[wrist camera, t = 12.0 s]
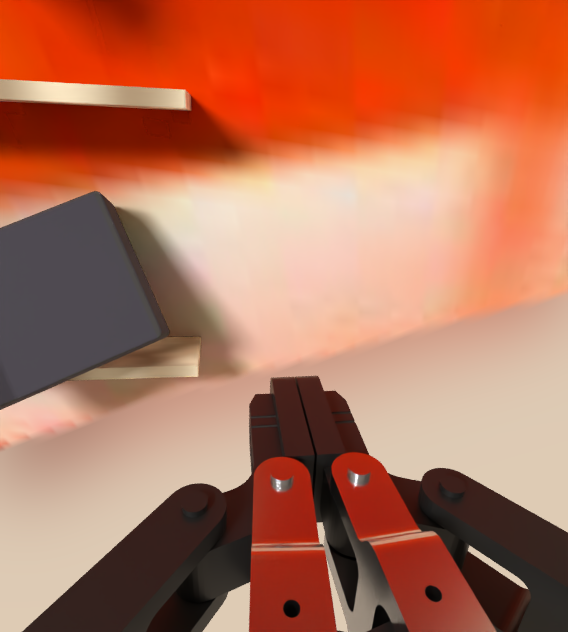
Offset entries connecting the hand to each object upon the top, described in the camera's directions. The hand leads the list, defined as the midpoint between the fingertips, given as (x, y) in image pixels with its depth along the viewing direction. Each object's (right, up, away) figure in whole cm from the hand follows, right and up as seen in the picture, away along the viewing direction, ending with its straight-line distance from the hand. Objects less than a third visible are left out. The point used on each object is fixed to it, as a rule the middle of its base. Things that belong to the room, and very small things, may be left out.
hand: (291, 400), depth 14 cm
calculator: (-11, +6, +17) cm, 21 cm away
